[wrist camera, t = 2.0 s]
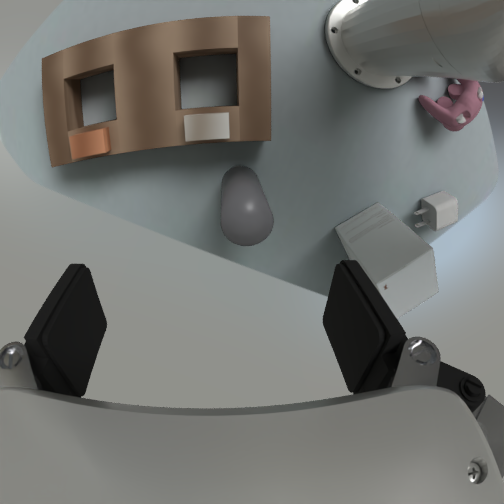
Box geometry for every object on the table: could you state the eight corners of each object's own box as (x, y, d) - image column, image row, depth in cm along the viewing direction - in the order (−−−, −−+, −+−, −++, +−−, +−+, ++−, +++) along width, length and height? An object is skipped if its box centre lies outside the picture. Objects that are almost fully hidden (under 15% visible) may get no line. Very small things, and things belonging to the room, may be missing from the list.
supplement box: (351, 265, 40) (388, 326, 29) (333, 226, 36) (374, 284, 25) (392, 240, 38) (439, 293, 27) (379, 199, 35) (434, 247, 24)
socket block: (264, 26, 23) (272, 12, 18) (265, 135, 29) (273, 142, 25) (59, 60, 21) (34, 58, 16) (68, 158, 28) (44, 171, 23)
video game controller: (421, 117, 30) (461, 143, 26) (414, 97, 27) (458, 122, 23) (453, 78, 27) (491, 99, 23) (447, 56, 23) (490, 77, 19)
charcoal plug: (256, 161, 31) (274, 197, 21) (256, 194, 33) (273, 244, 23) (221, 162, 31) (219, 199, 20) (222, 196, 33) (222, 247, 22)
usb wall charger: (442, 212, 36) (457, 223, 33) (408, 226, 37) (423, 238, 34) (441, 189, 34) (457, 199, 31) (406, 202, 35) (422, 213, 32)
